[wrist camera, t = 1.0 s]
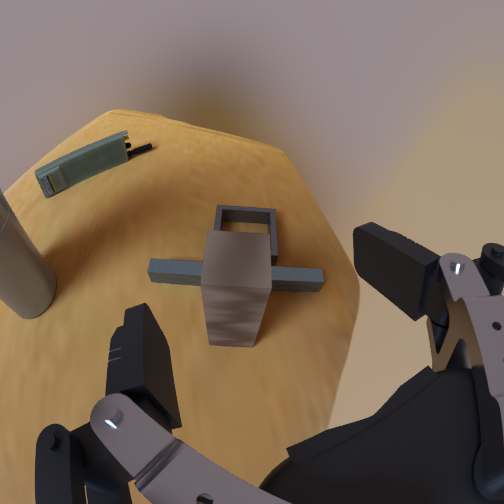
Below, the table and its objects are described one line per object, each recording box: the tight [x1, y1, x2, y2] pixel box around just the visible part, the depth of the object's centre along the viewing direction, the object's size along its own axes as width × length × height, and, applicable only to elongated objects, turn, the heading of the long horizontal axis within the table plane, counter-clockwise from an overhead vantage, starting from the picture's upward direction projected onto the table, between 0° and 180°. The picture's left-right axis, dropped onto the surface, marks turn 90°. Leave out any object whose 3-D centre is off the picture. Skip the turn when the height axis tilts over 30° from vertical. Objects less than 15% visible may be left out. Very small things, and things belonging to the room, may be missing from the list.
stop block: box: [201, 230, 272, 347], centre depth 26 cm, size 5×5×14 cm
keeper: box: [147, 205, 324, 292], centre depth 38 cm, size 22×12×2 cm, turn 90°
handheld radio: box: [35, 130, 152, 198], centre depth 45 cm, size 7×3×25 cm
